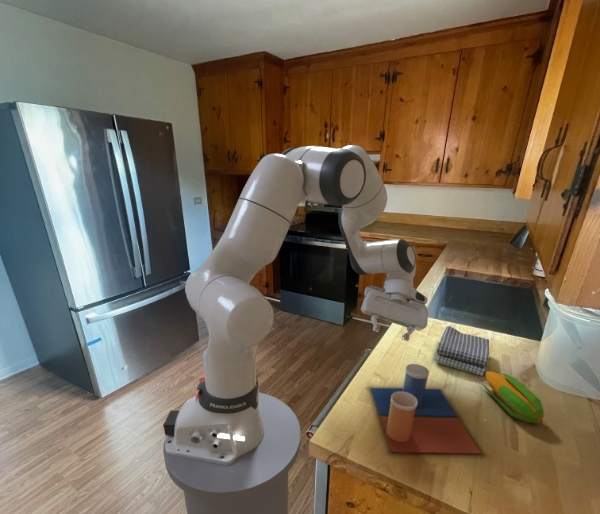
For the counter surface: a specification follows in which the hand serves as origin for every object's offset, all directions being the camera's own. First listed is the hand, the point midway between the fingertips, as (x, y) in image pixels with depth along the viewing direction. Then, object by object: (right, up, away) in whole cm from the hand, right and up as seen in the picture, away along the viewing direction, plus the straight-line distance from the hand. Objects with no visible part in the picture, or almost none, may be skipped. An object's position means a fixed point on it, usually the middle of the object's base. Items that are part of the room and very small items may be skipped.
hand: (390, 335), depth 96 cm
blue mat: (+4, -17, -7) cm, 19 cm away
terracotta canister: (-3, -22, -18) cm, 28 cm away
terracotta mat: (+4, -22, -18) cm, 29 cm away
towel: (+28, -9, +15) cm, 33 cm away
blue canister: (+4, -17, -7) cm, 19 cm away
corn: (+30, -18, -7) cm, 35 cm away
